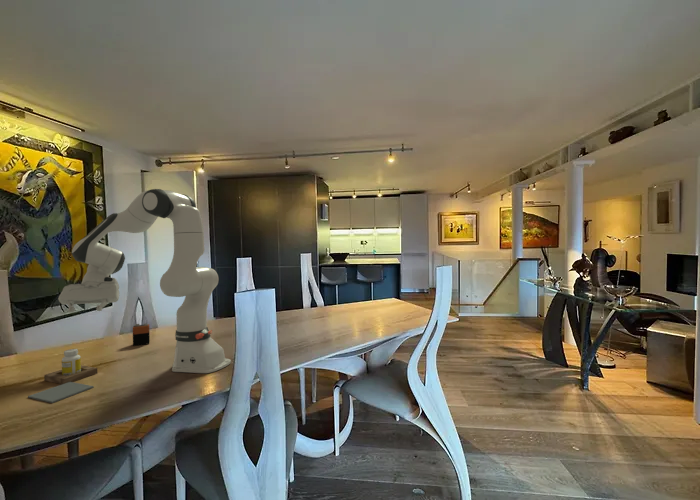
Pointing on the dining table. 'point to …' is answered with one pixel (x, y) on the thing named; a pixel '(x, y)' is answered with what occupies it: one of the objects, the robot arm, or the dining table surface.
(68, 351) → the supplement bottle
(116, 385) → the dining table surface
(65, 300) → the robot arm
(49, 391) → the charcoal mat
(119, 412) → the dining table surface
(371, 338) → the dining table surface
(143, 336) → the battery
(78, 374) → the walnut holder
